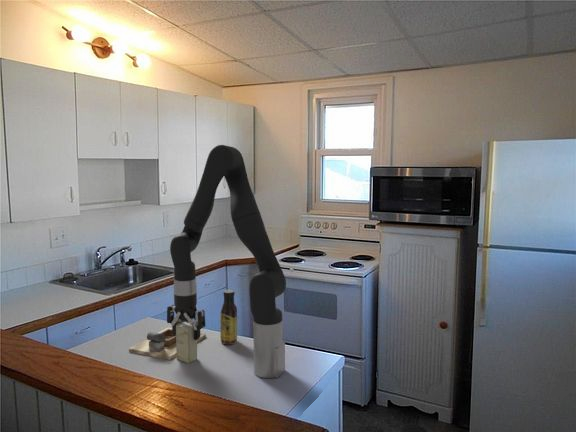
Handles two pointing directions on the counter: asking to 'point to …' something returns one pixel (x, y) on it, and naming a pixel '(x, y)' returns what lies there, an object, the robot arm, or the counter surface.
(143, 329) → the counter surface
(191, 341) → the skincare box
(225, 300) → the sauce bottle
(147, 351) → the board
